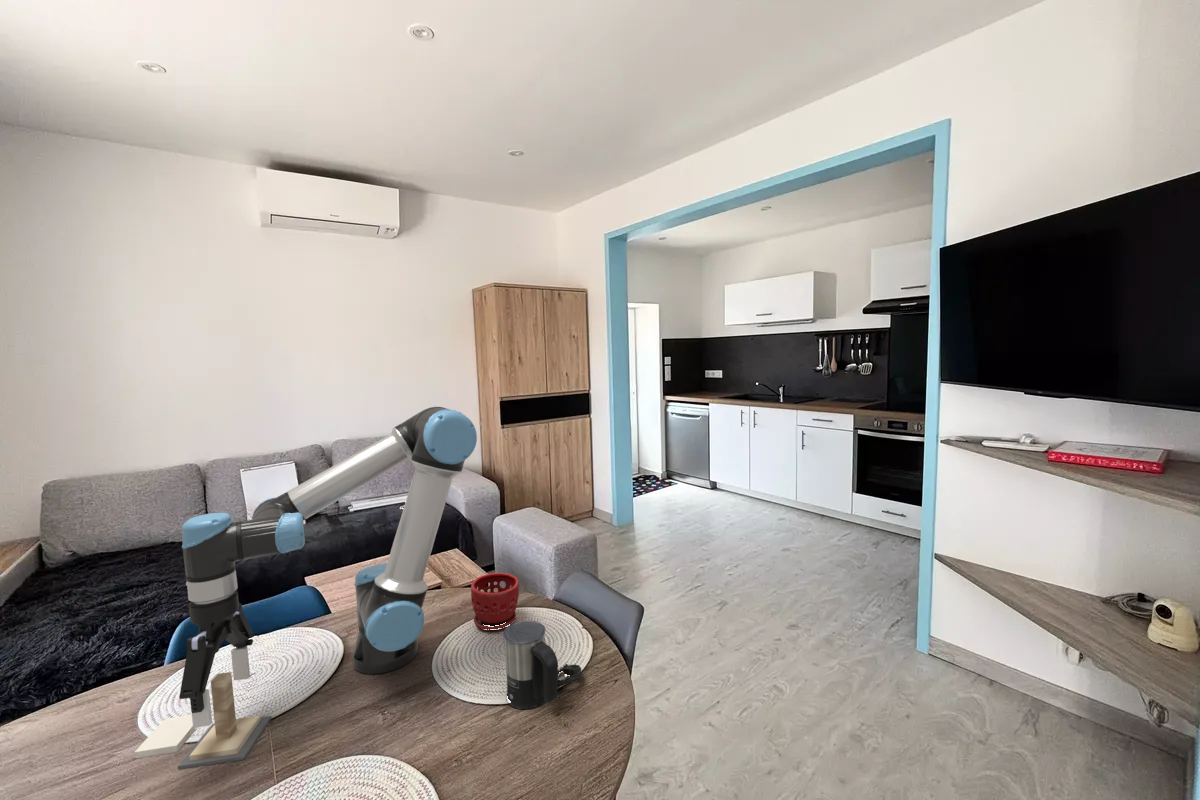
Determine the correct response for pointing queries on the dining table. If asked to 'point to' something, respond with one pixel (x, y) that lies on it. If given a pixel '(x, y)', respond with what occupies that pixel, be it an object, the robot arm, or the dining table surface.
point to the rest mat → (227, 758)
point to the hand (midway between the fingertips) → (223, 700)
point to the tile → (167, 737)
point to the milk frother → (532, 666)
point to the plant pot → (494, 600)
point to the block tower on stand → (224, 723)
